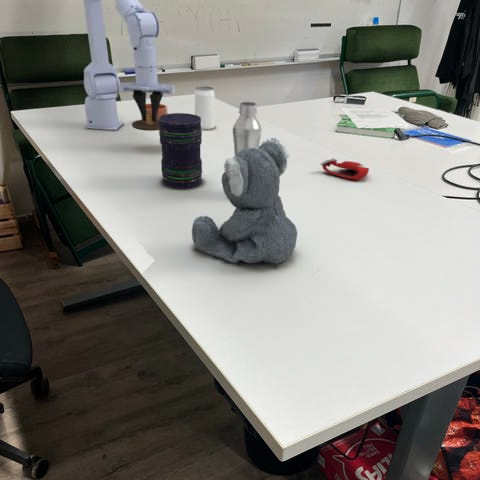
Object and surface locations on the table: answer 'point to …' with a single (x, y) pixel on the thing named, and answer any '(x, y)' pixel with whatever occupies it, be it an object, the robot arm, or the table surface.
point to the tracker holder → (347, 165)
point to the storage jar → (181, 150)
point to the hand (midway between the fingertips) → (149, 120)
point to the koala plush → (251, 210)
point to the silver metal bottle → (246, 128)
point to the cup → (161, 110)
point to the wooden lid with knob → (146, 124)
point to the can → (205, 106)
